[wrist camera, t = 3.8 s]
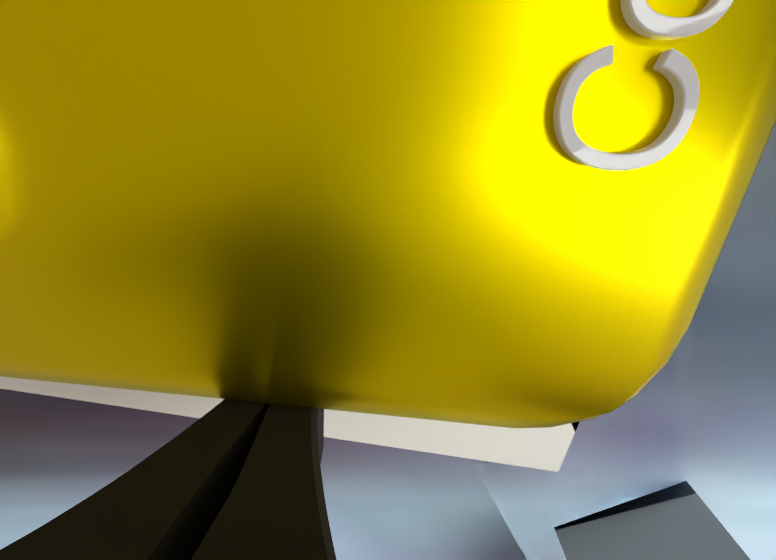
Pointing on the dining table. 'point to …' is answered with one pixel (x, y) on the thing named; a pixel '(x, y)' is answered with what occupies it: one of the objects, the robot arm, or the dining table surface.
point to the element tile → (372, 196)
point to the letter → (354, 425)
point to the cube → (651, 530)
